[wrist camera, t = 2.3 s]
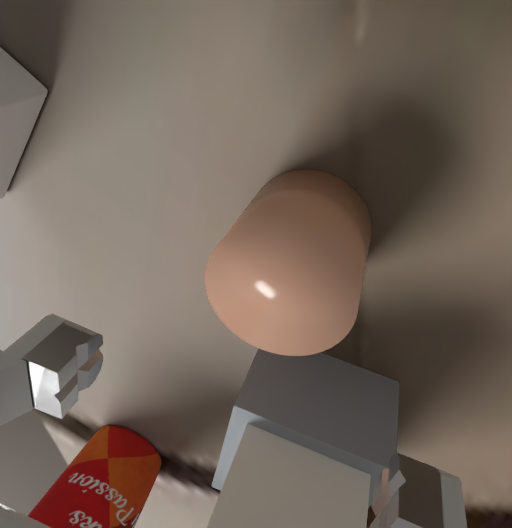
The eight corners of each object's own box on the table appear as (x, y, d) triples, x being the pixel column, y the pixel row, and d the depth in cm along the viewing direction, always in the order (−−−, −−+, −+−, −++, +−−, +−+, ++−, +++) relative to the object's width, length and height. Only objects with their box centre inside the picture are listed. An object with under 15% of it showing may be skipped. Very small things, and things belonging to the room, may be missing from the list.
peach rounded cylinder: (263, 153, 17) (215, 203, 13) (391, 192, 16) (384, 259, 12) (240, 257, 20) (196, 324, 16) (347, 295, 19) (330, 375, 15)
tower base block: (266, 329, 22) (233, 405, 18) (399, 379, 21) (396, 471, 17) (242, 410, 26) (211, 486, 22) (353, 454, 25) (341, 543, 21)
